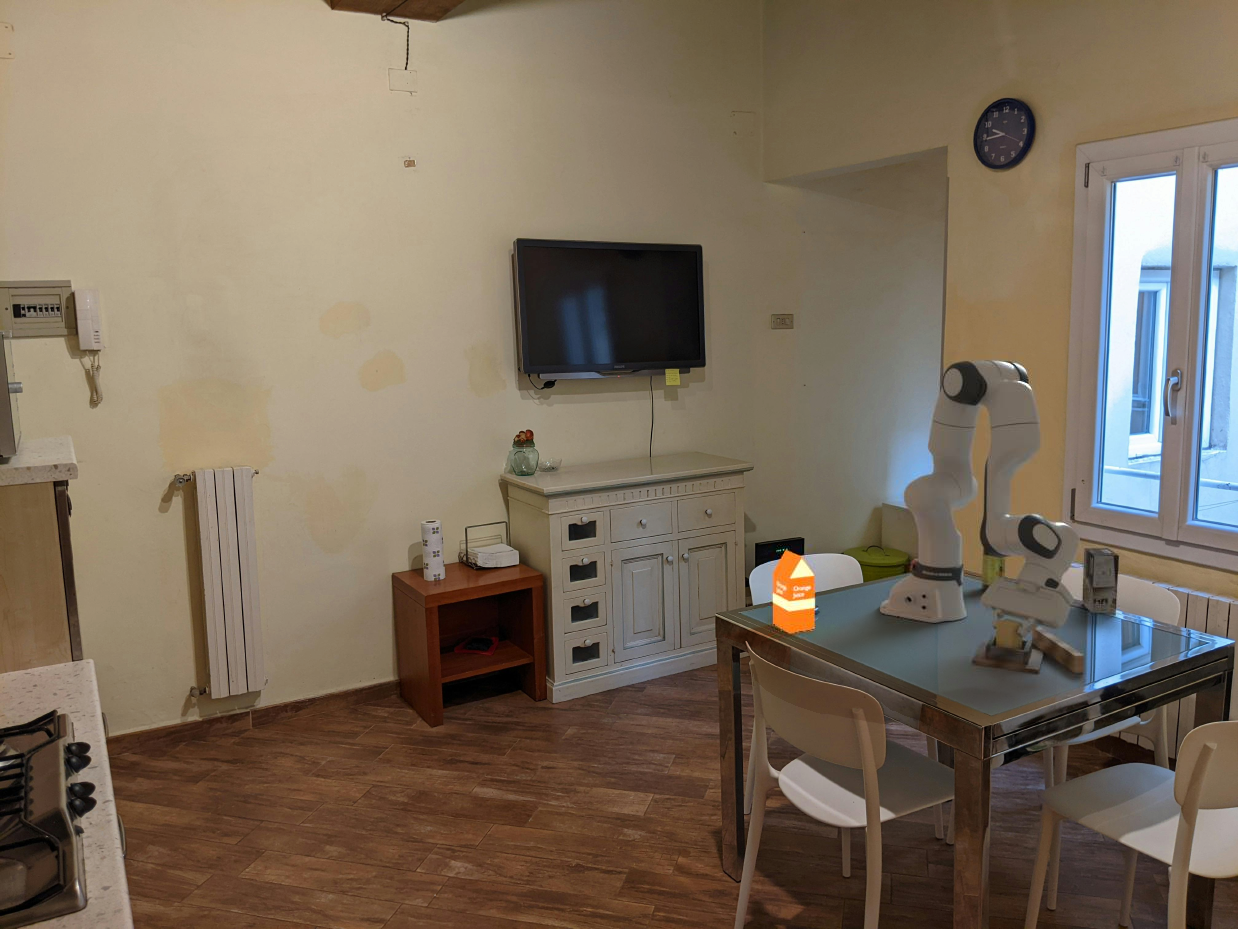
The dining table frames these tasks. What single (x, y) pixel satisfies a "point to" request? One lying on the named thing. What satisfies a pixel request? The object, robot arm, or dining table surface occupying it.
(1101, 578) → the coffee box
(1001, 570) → the sauce bottle
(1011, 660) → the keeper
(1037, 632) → the strip
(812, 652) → the dining table surface
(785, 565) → the orange juice
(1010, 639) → the stop block
